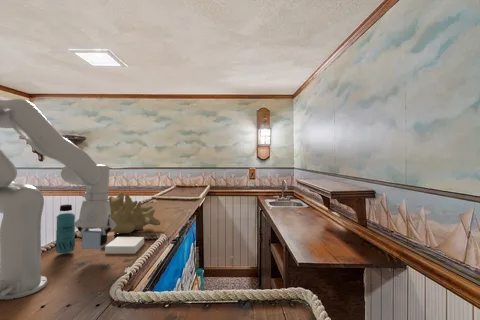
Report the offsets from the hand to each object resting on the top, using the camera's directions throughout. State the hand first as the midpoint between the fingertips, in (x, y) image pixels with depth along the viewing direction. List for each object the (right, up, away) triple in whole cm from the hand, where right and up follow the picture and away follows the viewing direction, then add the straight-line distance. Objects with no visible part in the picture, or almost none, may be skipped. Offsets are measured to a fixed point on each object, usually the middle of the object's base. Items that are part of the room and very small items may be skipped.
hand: (94, 244), depth 102 cm
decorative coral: (-1, -5, +38) cm, 38 cm away
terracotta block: (-3, -6, +18) cm, 19 cm away
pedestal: (+6, -6, +14) cm, 16 cm away
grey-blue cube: (0, -1, 0) cm, 1 cm away
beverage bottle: (-15, -6, +6) cm, 17 cm away
